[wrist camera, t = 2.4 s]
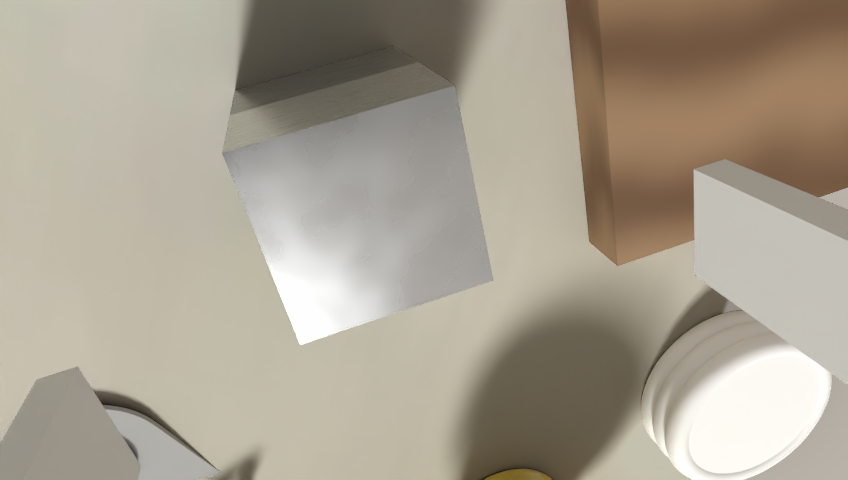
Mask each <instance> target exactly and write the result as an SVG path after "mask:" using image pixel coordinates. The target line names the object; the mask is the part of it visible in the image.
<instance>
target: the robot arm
mask: <svg viewBox="0 0 848 480" xmlns="http://www.w3.org/2000/svg"><path fill="white" fill-rule="evenodd" d="M694 250H695V276H696V277H697V278H699V279H700V280H701V281H703V282H704V283H706V284H707V285H708V286H710V287H711V288H713V289H714V290H715V291H717V292H718V293H720V294H721V295H722V296H724V297H725V298H727V299H728V300H729V301H731V302H732V303H734V304H735V305H736V306H738V307H739V308H741V309H742V310H743V311H745V312H746V313H748V314H749V315H750V316H752V317H753V318H755V319H756V320H757V321H759V322H760V323H762V324H763V325H764V326H766V327H767V328H769V329H770V330H771V331H773V332H774V333H776V334H777V335H778V336H780V337H781V338H783V339H784V340H785V341H787V342H788V343H790V344H791V345H792V346H794V347H795V348H797V349H798V350H799V351H801V352H802V353H804V354H805V355H806V356H808V357H809V358H811V359H812V360H813V361H815V362H816V363H818V364H819V365H820V366H822V367H823V368H825V369H826V370H827V371H829V372H830V373H832V374H833V375H834V376H836V377H837V378H839V379H840V380H841V381H843V382H844V383H846V384H847V385H848V209H845V208H843V207H840V206H838V205H835V204H833V203H830V202H828V201H826V200H823V199H821V198H818V197H816V196H814V195H811V194H809V193H806V192H804V191H801V190H799V189H797V188H794V187H792V186H789V185H787V184H784V183H782V182H780V181H777V180H775V179H772V178H770V177H767V176H765V175H763V174H760V173H758V172H755V171H753V170H750V169H748V168H746V167H743V166H741V165H738V164H736V163H733V162H731V161H729V160H726V159H724V160H721V161H717V162H714V163H711V164H708V165H705V166H702V167H699V168H696V169H694ZM140 468H141V465H140V463H139V462H138V460H137V459H136V457H135V456H134V454H133V452H132V451H131V449H130V448H129V446H128V445H127V443H126V441H125V440H124V438H123V437H122V435H121V434H120V432H119V431H118V429H117V427H116V426H115V424H114V423H113V421H112V420H111V418H110V416H109V415H108V413H107V412H106V410H105V409H104V407H103V405H102V404H101V402H100V401H99V399H98V398H97V396H96V394H95V393H94V391H93V390H92V388H91V387H90V385H89V383H88V382H87V380H86V379H85V377H84V376H83V374H82V372H81V371H80V369H79V368H78V367H75V368H71V369H68V370H65V371H62V372H59V373H56V374H53V375H50V376H46V377H43V378H40V379H37V380H36V382H35V383H34V385H33V387H32V389H31V390H30V392H29V394H28V396H27V397H26V399H25V401H24V403H23V405H22V406H21V408H20V410H19V412H18V413H17V415H16V417H15V419H14V420H13V422H12V424H11V426H10V427H9V429H8V431H7V433H6V434H5V436H4V438H3V440H2V441H1V443H0V480H138V476H139V472H140Z"/></svg>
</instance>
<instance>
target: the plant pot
mask: <svg viewBox="0 0 848 480" xmlns="http://www.w3.org/2000/svg"><path fill="white" fill-rule="evenodd" d="M484 480H552V479H551V478H550V477H548V476H547V475H545V474H543V473H541V472H539V471H535V470H531V469H513V470H507V471H503V472H500V473H497V474H494V475H492V476H489V477H487V478H486V479H484Z"/></svg>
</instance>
